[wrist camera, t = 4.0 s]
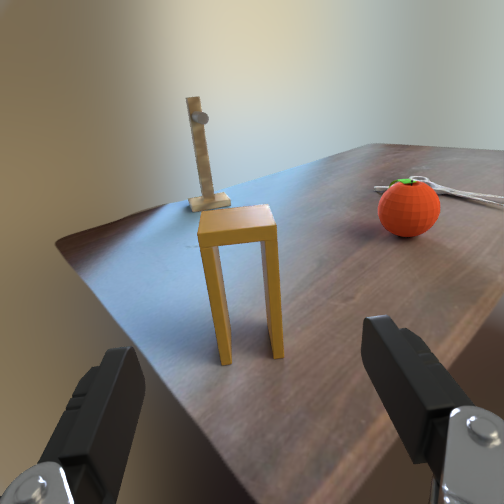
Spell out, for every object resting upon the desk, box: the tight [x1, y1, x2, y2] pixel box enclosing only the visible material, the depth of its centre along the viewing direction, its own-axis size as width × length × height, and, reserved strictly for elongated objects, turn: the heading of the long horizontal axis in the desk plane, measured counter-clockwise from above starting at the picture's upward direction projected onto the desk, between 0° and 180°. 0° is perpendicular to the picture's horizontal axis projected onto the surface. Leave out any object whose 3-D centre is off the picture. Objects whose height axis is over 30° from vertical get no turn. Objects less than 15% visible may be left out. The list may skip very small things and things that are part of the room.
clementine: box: [378, 179, 440, 237], centre depth 39 cm, size 8×7×7 cm
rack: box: [186, 97, 231, 212], centre depth 52 cm, size 7×10×18 cm
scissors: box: [374, 176, 504, 206], centre depth 52 cm, size 11×1×20 cm
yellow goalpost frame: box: [197, 204, 284, 365], centre depth 23 cm, size 5×4×11 cm
